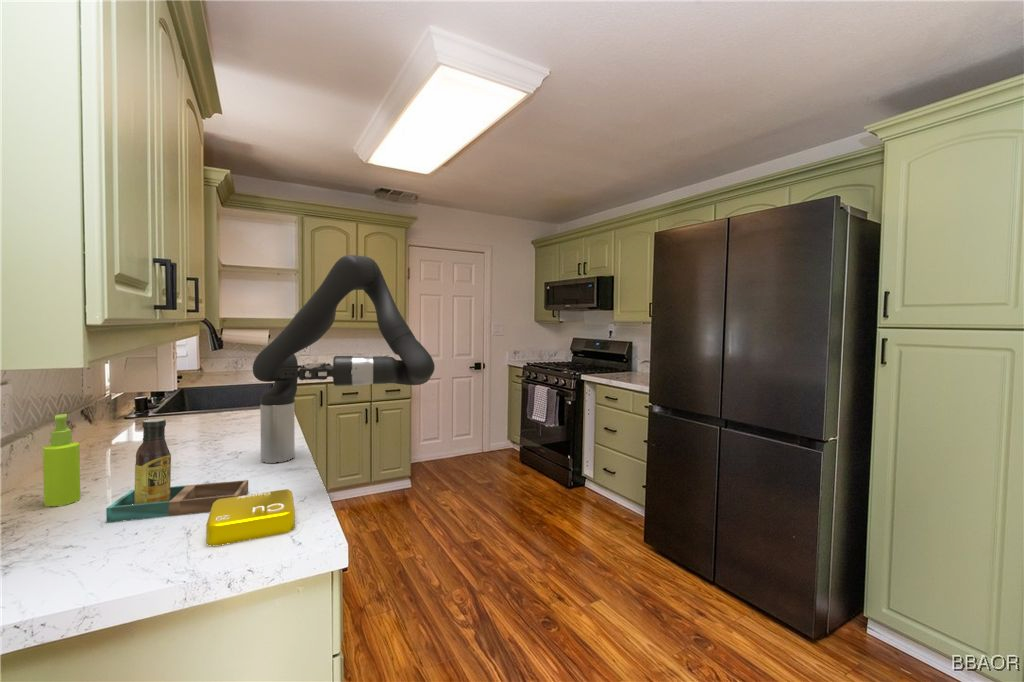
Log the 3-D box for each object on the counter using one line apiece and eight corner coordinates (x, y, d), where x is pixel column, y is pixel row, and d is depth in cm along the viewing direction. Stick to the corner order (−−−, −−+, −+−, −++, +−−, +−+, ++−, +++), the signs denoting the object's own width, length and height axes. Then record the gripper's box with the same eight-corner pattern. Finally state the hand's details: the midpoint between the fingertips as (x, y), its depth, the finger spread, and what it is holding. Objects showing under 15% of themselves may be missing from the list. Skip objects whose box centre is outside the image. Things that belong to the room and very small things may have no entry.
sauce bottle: (150, 516, 96) (149, 424, 95) (126, 513, 97) (125, 422, 96) (178, 504, 102) (177, 418, 101) (155, 502, 103) (155, 416, 103)
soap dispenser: (80, 493, 107) (78, 411, 107) (80, 502, 102) (78, 415, 102) (45, 500, 103) (43, 414, 103) (43, 509, 98) (41, 419, 98)
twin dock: (131, 503, 102) (131, 490, 102) (248, 492, 110) (248, 480, 110) (106, 522, 92) (106, 508, 92) (237, 509, 100) (237, 495, 100)
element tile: (291, 506, 103) (291, 485, 103) (295, 533, 90) (295, 509, 90) (213, 519, 96) (213, 496, 96) (205, 550, 83) (204, 524, 82)
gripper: (354, 353, 119) (286, 354, 114) (353, 357, 106) (277, 358, 101) (354, 381, 120) (287, 383, 114) (353, 389, 106) (277, 391, 101)
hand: (282, 371), depth 108 cm, fingers open, 8 cm apart
